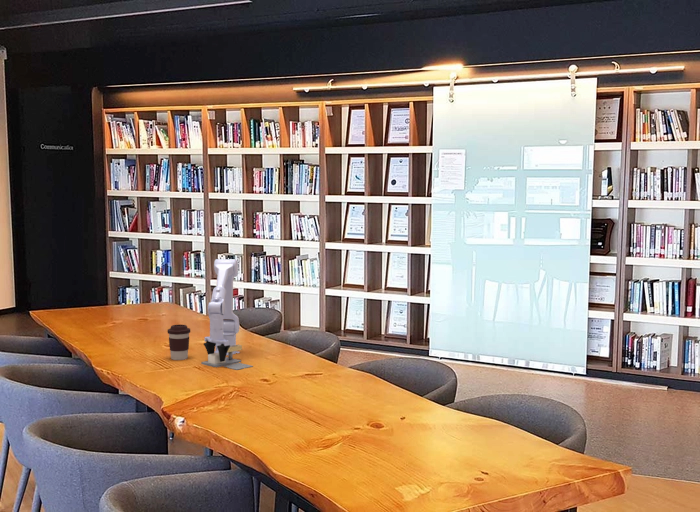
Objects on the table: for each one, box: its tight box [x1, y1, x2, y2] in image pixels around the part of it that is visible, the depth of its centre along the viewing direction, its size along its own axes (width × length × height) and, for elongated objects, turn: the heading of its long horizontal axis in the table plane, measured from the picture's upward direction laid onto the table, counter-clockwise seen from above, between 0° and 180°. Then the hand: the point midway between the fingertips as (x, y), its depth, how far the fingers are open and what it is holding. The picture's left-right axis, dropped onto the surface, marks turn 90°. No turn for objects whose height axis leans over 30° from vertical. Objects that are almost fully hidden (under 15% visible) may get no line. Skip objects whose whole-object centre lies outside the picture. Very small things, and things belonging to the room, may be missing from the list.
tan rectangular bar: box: [227, 344, 243, 352], centre depth 337 cm, size 2×11×2 cm, turn 138°
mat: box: [223, 362, 254, 371], centre depth 328 cm, size 9×9×1 cm
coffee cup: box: [167, 324, 191, 361], centre depth 342 cm, size 10×10×15 cm
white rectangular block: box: [207, 353, 226, 364], centre depth 332 cm, size 4×6×4 cm
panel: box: [201, 352, 242, 368], centre depth 333 cm, size 10×14×5 cm
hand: (216, 359), depth 332 cm, fingers open, 7 cm apart
